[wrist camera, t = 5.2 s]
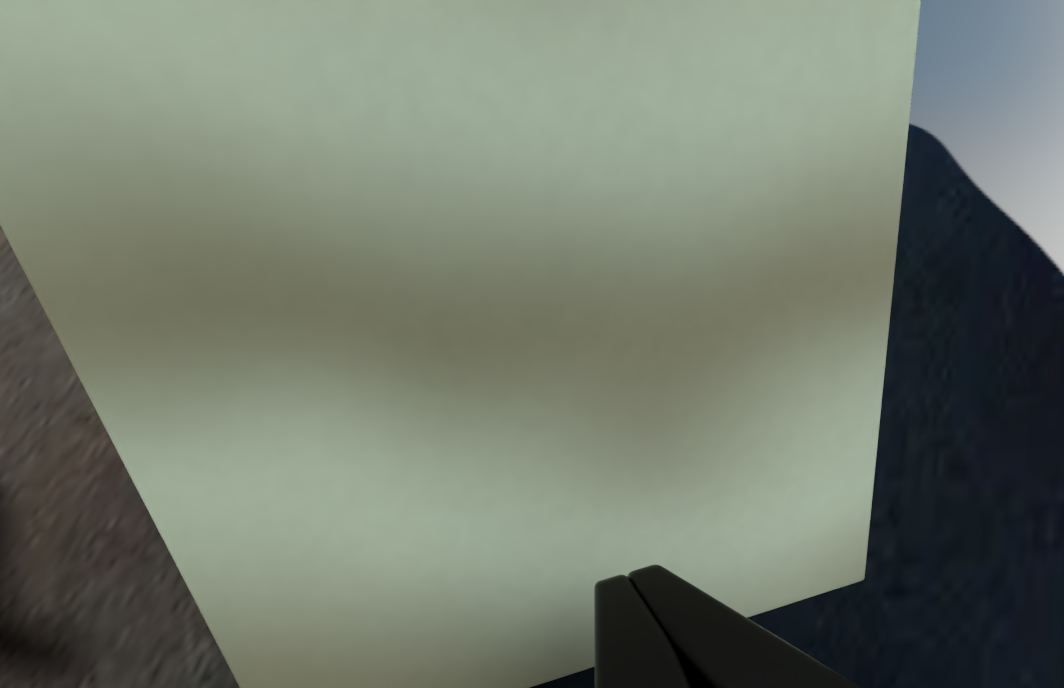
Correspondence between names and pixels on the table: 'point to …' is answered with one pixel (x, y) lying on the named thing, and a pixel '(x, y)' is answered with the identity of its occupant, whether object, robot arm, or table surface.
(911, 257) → the table surface
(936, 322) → the table surface
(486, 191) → the box lid
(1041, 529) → the table surface
